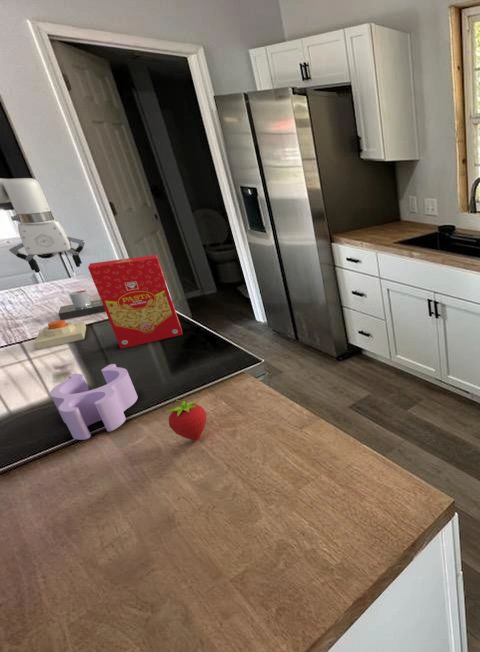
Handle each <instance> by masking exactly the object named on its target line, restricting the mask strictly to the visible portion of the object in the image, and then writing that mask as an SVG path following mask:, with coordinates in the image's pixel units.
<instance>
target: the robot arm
mask: <svg viewBox="0 0 480 652" xmlns="http://www.w3.org/2000/svg"><path fill="white" fill-rule="evenodd" d="M7 203H11V205H12V208H13V209H14V211H15V215H12V216H10V217H11V220H12V221H13V222H15V221H16V222H19V223H18V224H17V230H18V234H19V237H20V240H21V242H19V243H18V244H16V245H14V246H12V247H11V248H9V249H8V251H9V252H10V253H11V254H13V255H14V256H16V257H17V258H19V259H21V260H24V261H25V262H27V263H28V265H29V267H30V270H31V271H34V273H36V274H38V273H40V272H41V269H40V267H39V264H38V262H37V260H36V259H34V257H35V256H39V255H40V256H41V255H47V254H58V253H63V252H68V253H69V254H71V256H72V260H73V262H74V265H75V266H76V268H80V267H81V264H83V262H82V260H81V256H80V255H79V254H80V253H81V252H82V251H83V249H84V246H85V244H86V241H85V240H83V239H79V238H76V237H72V236H68V235H67V233H66V231H65V229H64V227H63V225H62V224H61V222H59V221H58V220H57V219H56V220H55V218H54V216H53V213H52V210H51V208H50V206H49V203H48V201H47V199H46V195H45V194H44V191H43V189H42V186H41V184H40V183H39V181H38V180H37V179H35V178H32V177H21V178H20V177H19V178H18V177H17V178H3V177H2V178H1V177H0V204H7ZM72 243H74V244H77V245H78V246H77V247H76V248H73V247H72ZM22 248H24V250H25V252H26V254H25V253H22V252H21V251H19V250H21V249H22Z"/></svg>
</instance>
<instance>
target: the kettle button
mask: <svg viewBox="0 0 480 652" xmlns="http://www.w3.org/2000/svg"><path fill="white" fill-rule="evenodd" d="M65 322H66V321H65V320H61V319H59V320H54V321H51V322H48V323H47V326H49V328H50V329H57V328H61V327H64V326H66V323H65Z"/></svg>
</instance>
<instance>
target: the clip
mask: <svg viewBox="0 0 480 652" xmlns="http://www.w3.org/2000/svg"><path fill="white" fill-rule="evenodd" d="M101 373H102V376H103V378H104V380H105V383H106V384H104V385H102V386H99V387H96V388H93V389H89V387H88V384H87V382H86V380H85V378H84V375H83V374H81V373H77V372H76V373H75V372H74V373H71V374H69V375H67V376H68V378H67V379H65V380H63V381H61V382H60V383H58V384H56V385H55V386H54V387H53V388H51V390H50V392H49V395H50V397H51V400H52V402H53V403H54V405H55V407H56V409H57V411H58V413H59V415H60V417H61V419H62V421H63V423H64V424H65V425H66V427H67V428H68V430H69V432H70V435H71V437H72V438H73V439H74V440H79V441H82V440H88V439H90V438H91V437H92V434H91V432H90V430H89V428H88V427H89V426H90V425H93V424H95V423H97V422H98V423H99V422H100V421H102V423H103V425H104V427H105V430H106V431H107V432H113V431H115V430H116V429H118V428H119V427H121V426H122V425H123V424H124V423H125V422H126V419H127V418H126V415H125V413H124V412H125V411H127V409H129V408H131V407H132V406H133V405H135V403H136V402H137V400H138V394H137V391H136V389H135V386H134V384H133V381H132V379H131V377H130V374H129V372H128V370H127V368H124V367H121V366H120V367H118V366H117V364H116V363H111V364H108V365H106V366H105V367H103V368H102V369H101Z"/></svg>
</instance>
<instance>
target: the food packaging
mask: <svg viewBox="0 0 480 652" xmlns="http://www.w3.org/2000/svg"><path fill="white" fill-rule="evenodd" d="M87 269H88V271H89V273H90V277H91V279H92V282H93V283H94V286H95V289H96V291H97V293H98V296H99V298H100V299H101V301H102V304H103V306H104V308H105V311H106V312H105V314H106V316H107V317H108V318H107V319H108V321H109V323H110V326H111V328H112V330H113V333H114V336H115V338H116V341H117V343H118V346H119V348H120V349H126V348H131V347H135V346H139V345H144V344H148V343H152V342H156V341H161V340H166V339H170V338H173V337H178V336H181V335H182V336H183V329H182V325H181V323H180V319H179V317H178V314H177V310H176V307H175V305H174V301H173V299H172V296H171V292H170V290H169V287H168V284H167V281H166V278H165V275H164V272H163V269H162V266H161V263H160V260H159V257H158V254H150V255H143V256H137V257H129V258H121V259H116V260H115V259H113V260H107V261H99V262H92V263H91V262H90V263H89V265H88V267H87ZM100 299H99V300H100Z"/></svg>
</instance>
